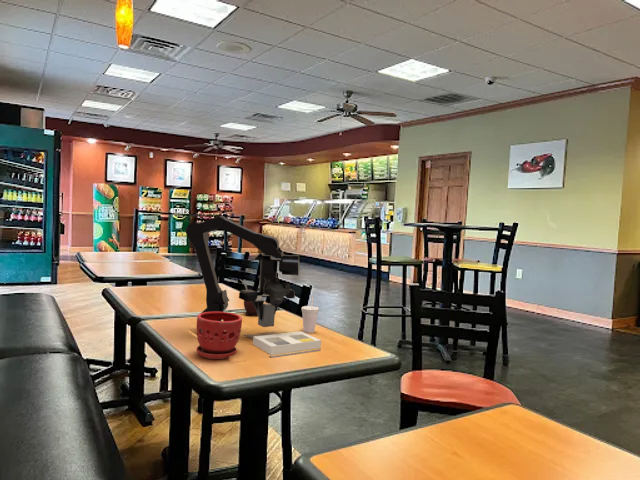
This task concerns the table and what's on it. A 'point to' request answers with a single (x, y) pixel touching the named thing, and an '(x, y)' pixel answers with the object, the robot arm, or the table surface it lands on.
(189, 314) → the table surface
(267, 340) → the socket block
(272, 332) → the deck
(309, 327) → the smoothie
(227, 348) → the plant pot
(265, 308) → the plug
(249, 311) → the mate gourd
